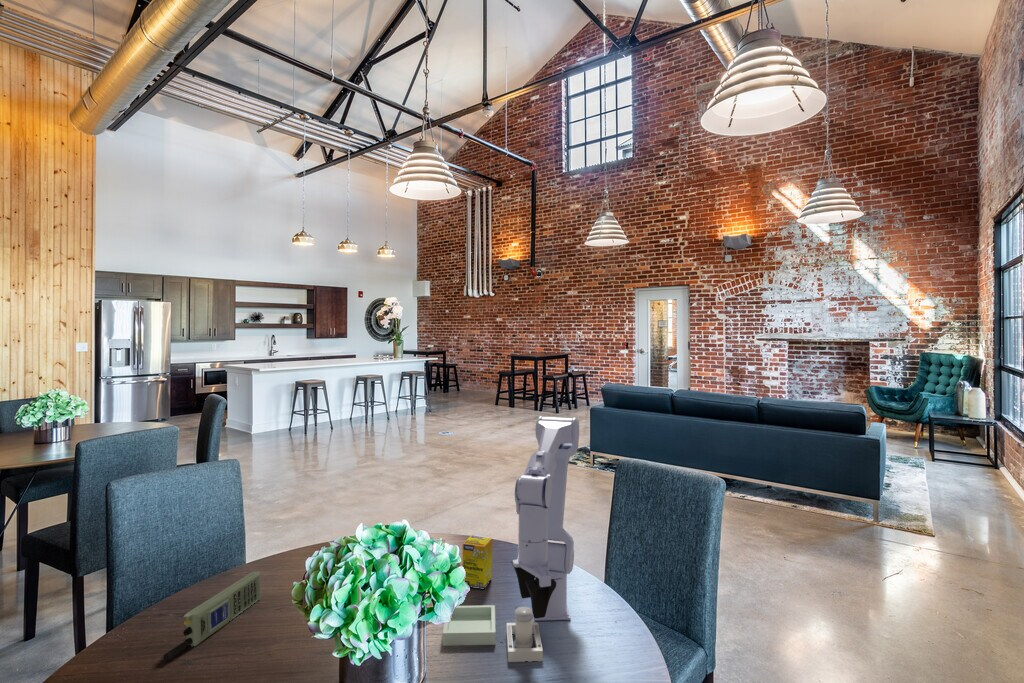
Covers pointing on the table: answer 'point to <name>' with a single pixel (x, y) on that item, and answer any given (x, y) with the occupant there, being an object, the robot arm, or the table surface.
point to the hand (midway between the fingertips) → (532, 606)
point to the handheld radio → (218, 611)
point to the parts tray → (470, 626)
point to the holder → (524, 653)
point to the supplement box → (477, 561)
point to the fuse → (523, 627)
